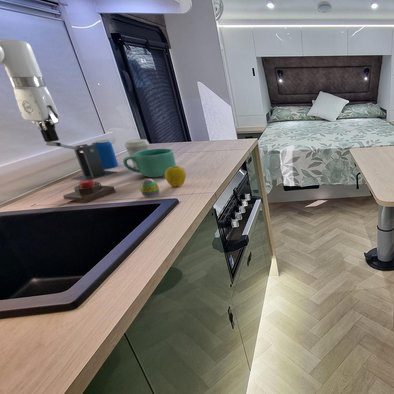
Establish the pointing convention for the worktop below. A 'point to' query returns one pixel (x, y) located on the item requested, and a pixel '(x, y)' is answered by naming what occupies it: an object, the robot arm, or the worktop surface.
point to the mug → (152, 162)
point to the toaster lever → (64, 146)
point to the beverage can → (106, 153)
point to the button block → (89, 193)
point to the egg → (149, 188)
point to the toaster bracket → (90, 163)
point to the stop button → (86, 183)
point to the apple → (175, 175)
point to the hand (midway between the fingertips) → (52, 140)
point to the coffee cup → (136, 147)
